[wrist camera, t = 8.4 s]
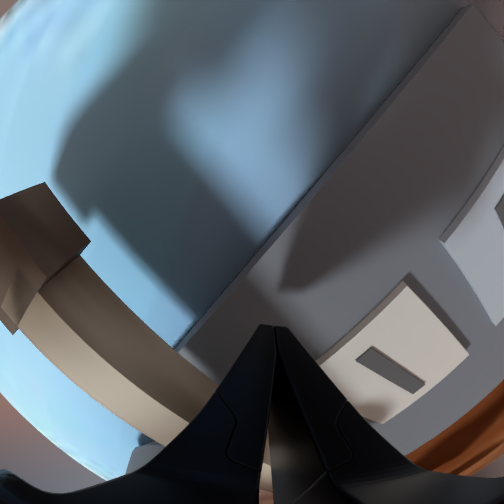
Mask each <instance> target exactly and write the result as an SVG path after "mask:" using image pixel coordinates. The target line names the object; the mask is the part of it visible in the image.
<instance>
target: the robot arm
mask: <svg viewBox="0 0 504 504" xmlns="http://www.w3.org/2000/svg"><path fill="white" fill-rule="evenodd" d="M267 431H268V437H269V450H270V462H271V475H272V488H273V501H274V504H504V477H499V478H480V477H470V476H461V475H453V474H446V473H440V472H434V471H429V470H426V469H423V468H421V467H419V466H417V465H415V464H414V463H412V462H411V461H410V460H408V459H407V458H406V457H405V456H404V455H403V454H402V453H400V452H399V451H398V450H397V449H396V448H395V447H394V446H393V445H391V444H390V443H389V442H388V441H387V440H386V439H385V438H384V437H383V436H382V435H380V434H379V433H378V432H377V431H376V430H375V429H374V428H373V427H372V426H371V425H370V424H369V423H368V422H367V421H366V420H365V419H364V418H363V417H362V415H361V414H360V413H359V412H358V411H357V410H356V409H355V408H354V406H353V405H352V404H351V403H350V402H349V401H347V398H346V397H345V396H344V395H343V394H342V392H341V391H340V390H339V389H338V388H337V386H336V385H335V384H334V383H333V382H332V380H331V379H330V378H329V377H328V376H327V374H326V373H325V372H324V371H323V370H322V368H321V367H320V366H319V365H318V364H317V362H316V361H315V360H314V359H313V358H312V356H311V355H310V354H309V353H308V351H307V350H306V349H305V348H304V347H303V345H302V344H301V343H300V342H299V341H298V339H297V338H296V337H295V336H294V334H293V333H292V332H291V331H290V330H289V328H288V327H285V326H274V327H273V326H272V325H267V324H259V325H258V327H257V329H256V330H255V332H254V333H253V335H252V336H251V338H250V339H249V341H248V342H247V344H246V346H245V347H244V349H243V350H242V352H241V353H240V355H239V356H238V358H237V359H236V361H235V362H234V364H233V365H232V367H231V368H230V370H229V371H228V373H227V374H226V376H225V377H224V379H223V380H222V381H221V383H220V384H219V386H218V387H217V389H216V390H215V392H214V393H213V394H212V396H211V397H210V399H209V400H208V401H207V403H206V404H205V405H204V407H203V408H202V409H201V411H200V412H199V413H198V414H197V415H196V417H195V418H194V419H193V420H192V421H191V422H190V423H189V424H188V425H187V426H186V427H185V428H184V429H183V430H182V431H181V432H180V433H179V434H178V435H177V436H176V437H175V438H174V439H173V440H172V441H171V442H170V443H169V444H168V445H167V446H166V447H164V448H163V449H162V450H161V451H160V452H159V453H158V454H157V455H156V456H155V457H154V458H152V459H151V460H150V461H149V462H147V463H146V464H145V465H143V466H142V467H140V468H139V469H137V470H135V471H133V472H131V473H128V474H126V475H123V476H120V477H118V478H115V479H112V480H109V481H106V482H103V483H100V484H97V485H94V486H91V487H87V488H84V489H80V490H76V491H73V492H68V493H51V492H47V491H43V490H40V489H38V488H36V487H34V486H32V485H31V484H29V483H28V482H26V481H25V480H23V479H22V478H20V477H19V476H17V475H15V474H14V473H12V472H11V471H9V470H7V469H2V470H0V504H259V486H260V478H261V472H262V465H263V459H264V452H265V445H266V438H267Z"/></svg>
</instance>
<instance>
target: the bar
mask: <svg viewBox="0 0 504 504" xmlns="http://www.w3.org/2000/svg"><path fill="white" fill-rule="evenodd" d="M90 242H91V241H90V240H89V238H88V237H87V236H86V235H85V234H84V232H83V231H82V230H81V229H80V228H79V226H78V225H77V224H76V223H75V221H74V220H73V219H72V218H71V216H70V215H69V214H68V213H67V211H66V210H65V209H64V207H63V206H62V205H61V203H60V202H59V201H58V199H57V198H56V197H55V195H54V194H53V193H52V191H51V190H50V189H49V187H48V186H47V184H46V183H45V182H44V183H41V184H38V185H35V186H33V187H30V188H27V189H25V190H22V191H19V192H17V193H14V194H12V195H10V196H7V197H5V198H2V199H0V320H1V322H2V323H3V324H4V325H5V326H6V328H7V329H8V330H9V331H10V332H11V333H12V335H13V334H14V333H15V332H16V331H17V330H18V329H20V330H21V331H22V333H23V334H24V335H25V336H26V337H27V338H28V339H29V340H30V341H31V342H32V343H33V344H34V345H35V347H36V348H37V349H38V350H39V351H40V352H41V353H42V354H43V355H44V356H45V357H46V358H47V359H48V360H49V361H50V362H52V363H53V364H54V365H55V366H56V367H57V368H58V369H59V370H60V371H61V372H62V373H63V374H64V375H66V376H67V377H68V378H69V379H70V380H71V381H72V382H74V383H75V384H76V385H77V386H78V387H80V388H81V389H82V390H83V391H84V392H86V393H87V394H88V395H89V396H91V397H92V398H93V399H94V400H96V401H97V402H98V403H100V404H101V405H102V406H104V407H105V408H106V409H108V410H109V411H110V412H112V413H113V414H115V415H116V416H117V417H119V418H120V419H122V420H123V421H125V422H126V423H128V424H129V425H131V426H132V427H134V428H135V429H137V430H138V431H140V432H142V433H143V434H145V435H146V436H148V437H150V438H151V439H153V440H155V441H157V442H158V443H160V444H162V445H163V446H165V447H166V446H167V445H168V444H169V443H170V442H171V441H172V440H173V439H174V438H175V437H176V436H177V435H178V434H179V433H180V432H181V431H182V430H183V429H184V428H185V427H186V426H187V425H188V424H189V423H190V422H191V421H192V420H193V419H194V418H195V417H196V415H197V414H198V413H199V412H200V411H201V409H202V408H203V407H204V405H205V404H206V403H207V401H208V400H209V399H210V397H211V396H212V394H213V393H214V392H215V390H216V389H217V387H218V386H219V385H217V384H216V383H215V382H213V381H212V380H211V379H209V378H208V377H207V376H206V375H204V374H203V373H202V372H201V371H199V370H198V369H197V368H196V367H194V366H193V365H192V364H191V363H189V362H188V361H187V360H186V359H185V358H183V357H182V356H181V355H180V354H179V353H178V352H176V351H175V350H174V349H173V348H172V347H171V346H169V345H168V344H167V343H166V342H165V341H164V340H163V339H162V338H160V337H159V336H158V335H157V334H156V333H155V332H154V331H153V330H152V329H151V328H149V327H148V326H147V325H146V324H145V323H144V322H143V321H142V320H141V319H140V318H139V317H138V316H137V315H136V314H135V313H134V312H133V311H132V310H131V309H130V308H129V307H128V306H127V305H126V304H125V303H124V302H123V301H122V300H121V299H120V298H119V297H118V296H117V295H116V294H115V293H114V292H113V291H112V290H111V289H110V288H109V287H108V286H107V285H106V284H105V283H104V282H103V281H102V279H101V278H100V277H99V276H98V275H97V274H96V273H95V272H94V271H93V270H92V268H91V267H90V266H89V265H88V264H87V263H86V262H85V260H84V259H83V258H82V257H81V256H80V254H81V253H82V252H83V250H84V249H85V248H86V247H87V246H88V244H89V243H90ZM259 488H260V489H263V490H266V491H269V492H272V493H273V488H272V475H271V462H270V450H269V437H268V431H267V438H266V445H265V452H264V459H263V465H262V472H261V478H260V486H259Z"/></svg>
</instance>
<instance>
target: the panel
mask: <svg viewBox="0 0 504 504" xmlns="http://www.w3.org/2000/svg"><path fill="white" fill-rule="evenodd" d="M259 324H267V325H272V326H273V327H274V326H285V327H288V328H289V330H290V331H291V332H292V333H293V334H294V336H295V337H296V338H297V339H298V341H299V342H300V343H301V344H302V345H303V347H304V348H305V349H306V350H307V351H308V353H309V354H310V355H311V356H312V358H313V359H314V360H315V361H316V362H317V364H318V365H319V366H320V367H321V368H322V370H323V371H324V372H325V373H326V374H327V376H328V377H329V378H330V379H331V380H332V382H333V383H334V384H335V385H336V386H337V388H338V389H339V390H340V391H341V392H342V394H343V395H344V396H345V397H346V398H347V401H349V402H350V403H351V404H352V405H353V406H354V408H355V409H356V410H357V411H358V412H359V413H360V414H361V415H362V417H363V418H364V419H365V420H366V421H367V422H368V423H369V424H370V425H371V426H372V427H373V428H374V429H375V430H376V431H377V432H378V433H379V434H380V435H382V436H383V437H384V438H385V439H386V440H387V441H388V442H389V443H390V444H391V445H393V446H394V447H395V448H396V449H397V450H398V451H399V452H400V453H402V454H403V455H404V456H405V455H407V454H408V453H410V452H412V451H413V450H415V449H417V448H418V447H420V446H421V445H423V444H424V443H426V442H428V441H429V440H431V439H432V438H433V437H435V436H436V435H438V434H439V433H441V432H442V431H443V430H445V429H446V428H448V427H449V426H450V425H452V424H453V423H454V422H456V421H457V420H458V419H459V418H461V417H462V416H463V415H465V414H466V413H467V412H468V411H469V410H471V409H472V408H473V407H474V406H475V405H477V404H478V403H479V402H480V401H481V400H482V399H483V398H484V397H486V396H487V395H488V394H489V393H490V392H491V391H492V390H493V389H494V388H495V387H496V386H497V385H498V384H499V383H500V382H501V381H502V380H503V379H504V43H503V41H502V40H501V38H500V37H499V36H498V34H497V33H496V31H495V30H494V29H493V27H492V26H491V25H490V24H489V22H488V21H487V20H486V18H485V17H484V16H483V15H482V14H481V12H480V11H479V10H478V9H477V8H476V6H475V5H474V4H470V5H468V6H466V7H463V8H462V9H461V10H460V11H459V13H458V14H457V15H456V16H455V17H454V19H453V20H452V21H451V22H450V24H449V25H448V26H447V27H446V28H445V30H444V31H443V32H442V33H441V34H440V36H439V37H438V38H437V39H436V40H435V42H434V43H433V44H432V45H431V46H430V48H429V49H428V50H427V51H426V52H425V54H424V55H423V56H422V57H421V58H420V60H419V61H418V62H417V63H416V65H415V66H414V67H413V68H412V69H411V71H410V72H409V73H408V74H407V75H406V76H405V78H404V79H403V80H402V81H401V82H400V84H399V85H398V86H397V87H396V88H395V90H394V91H393V92H392V93H391V94H390V96H389V97H388V98H387V99H386V100H385V102H384V103H383V104H382V105H381V106H380V108H379V109H378V110H377V111H376V112H375V114H374V115H373V116H372V117H371V118H370V119H369V121H368V122H367V123H366V124H365V125H364V127H363V128H362V129H361V130H360V131H359V133H358V134H357V135H356V136H355V137H354V139H353V140H352V141H351V142H350V143H349V144H348V146H347V147H346V148H345V149H344V150H343V152H342V153H341V154H340V155H339V156H338V158H337V159H336V160H335V161H334V162H333V163H332V165H331V166H330V167H329V168H328V169H327V171H326V172H325V173H324V174H323V175H322V176H321V178H320V179H319V180H318V181H317V182H316V184H315V185H314V186H313V187H312V188H311V189H310V191H309V192H308V193H307V194H306V195H305V197H304V198H303V199H302V200H301V201H300V202H299V204H298V205H297V206H296V207H295V208H294V210H293V211H292V212H291V213H290V214H289V215H288V217H287V218H286V219H285V220H284V221H283V222H282V224H281V225H280V226H279V227H278V228H277V230H276V231H275V232H274V233H273V234H272V235H271V237H270V238H269V239H268V240H267V241H266V242H265V244H264V245H263V246H262V247H261V248H260V250H259V251H258V252H257V253H256V254H255V255H254V257H253V258H252V259H251V260H250V261H249V262H248V264H247V265H246V266H245V267H244V268H243V269H242V271H241V272H240V273H239V274H238V275H237V277H236V278H235V279H234V280H233V281H232V282H231V284H230V285H229V286H228V287H227V288H226V289H225V291H224V292H223V293H222V294H221V295H220V296H219V298H218V299H217V300H216V301H215V302H214V303H213V305H212V306H211V307H210V308H209V309H208V310H207V312H206V313H205V314H204V315H203V316H202V317H201V319H200V320H199V321H198V322H197V323H196V324H195V326H194V327H193V328H192V329H191V330H190V331H189V333H188V334H187V335H186V336H185V337H184V338H183V340H182V341H181V342H180V343H179V344H178V345H177V347H176V348H175V349H174V350H175V351H176V352H178V353H179V354H180V355H181V356H182V357H183V358H185V359H186V360H187V361H188V362H189V363H191V364H192V365H193V366H194V367H196V368H197V369H198V370H199V371H201V372H202V373H203V374H204V375H206V376H207V377H208V378H209V379H211V380H212V381H213V382H215V383H216V384H217V385H219V384H220V383H221V381H222V380H223V379H224V377H225V376H226V374H227V373H228V371H229V370H230V368H231V367H232V365H233V364H234V362H235V361H236V359H237V358H238V356H239V355H240V353H241V352H242V350H243V349H244V347H245V346H246V344H247V342H248V341H249V339H250V338H251V336H252V335H253V333H254V332H255V330H256V329H257V327H258V325H259Z"/></svg>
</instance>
